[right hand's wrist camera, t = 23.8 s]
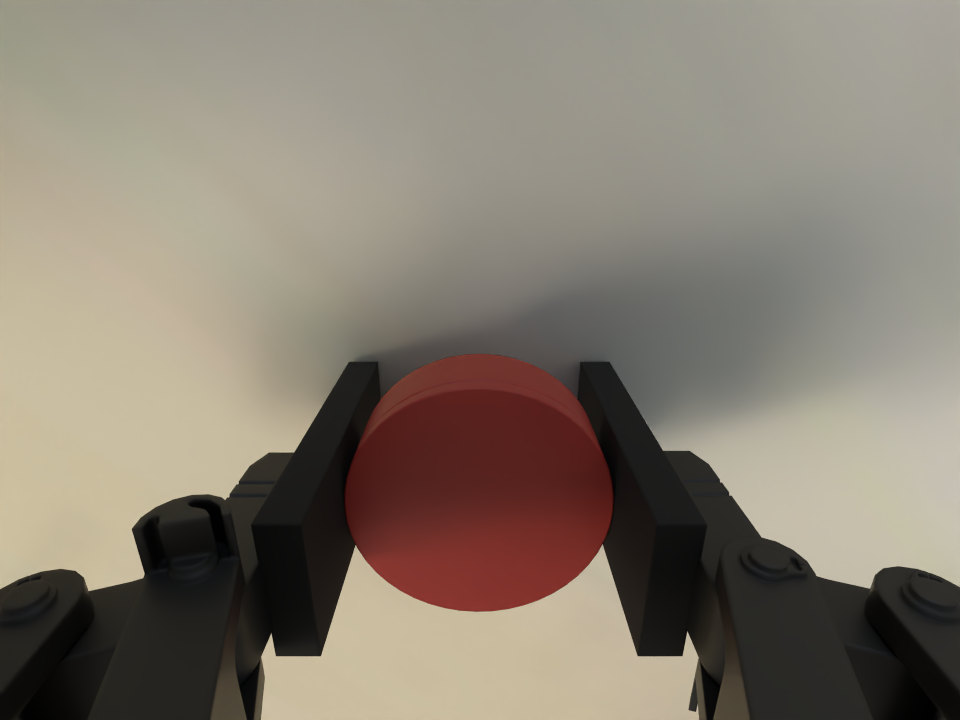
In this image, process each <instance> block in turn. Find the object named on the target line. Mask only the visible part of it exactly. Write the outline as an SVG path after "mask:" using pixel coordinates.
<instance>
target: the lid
mask: <svg viewBox="0 0 960 720" xmlns="http://www.w3.org/2000/svg"><path fill="white" fill-rule="evenodd" d="M613 504H614V493H613V482H612V479H611V475H610V471H609V467H608V465H607V462H606V460H605V457H604V455H603V452H602V450H601V447H600V445H599V442H598V440H597V437H596V435H595V432H594V430H593V427H592V425H591V423H590V420H589V418H588V416H587V414H586V412H585V410H584V409H583V407H582V406H581V404H580V402H579V401H578V400H577V399H576V397H575V396H574V395H573V394H572V393H571V391H570V390H569V389H568V388H566V387H565V386H564V385H563V384H562V383H561V382H560V381H559V380H557V379H556V378H554V377H553V376H551V375H550V374H548V373H547V372H545V371H544V370H542V369H539V368H537V367H535V366H533V365H531V364H529V363H526V362H523V361H520V360H517V359H514V358H509V357H504V356H500V355H489V354H468V355H460V356H454V357H448V358H445V359H441V360H438V361H435V362H432V363H430V364H427V365H425V366H423V367H420V368H418V369H417V370H415V371H413V372H412V373H410V374H408V375H407V376H405V377H404V378H402V379H401V380H400V381H399V382H397V383H396V384H395V385H394V386H393V387H392V388H391V389H390V390H389V391H388V392H387V393H386V394H385V395H384V396H383V397H382V399H381V400H380V401H379V403H378V404H377V406H376V407H375V408H374V410H373V412H372V414H371V416H370V418H369V420H368V422H367V425H366V427H365V430H364V432H363V435H362V437H361V440H360V442H359V445H358V447H357V450H356V452H355V455H354V457H353V460H352V462H351V465H350V469H349V472H348V475H347V478H346V485H345V491H344V507H345V513H346V519H347V523H348V527H349V530H350V533H351V536H352V538H353V540H354V542H355V544H356V546H357V548H358V550H359V551H360V553H361V554H362V556H363V557H364V558H365V560H366V561H367V562H368V564H369V565H370V566H371V567H372V568H373V569H374V570H375V571H376V572H377V573H378V574H379V575H380V576H381V577H382V578H384V579H385V580H386V581H387V582H388V583H390V584H391V585H393V586H394V587H396V588H397V589H399V590H400V591H402V592H404V593H406V594H408V595H410V596H412V597H413V598H416V599H418V600H421V601H423V602H426V603H429V604H432V605H436V606H439V607H443V608H448V609H454V610H460V611H475V612H480V611H497V610H504V609H510V608H514V607H519V606H523V605H526V604H529V603H532V602H534V601H537V600H540V599H542V598H544V597H546V596H548V595H550V594H552V593H554V592H556V591H557V590H559V589H561V588H562V587H564V586H565V585H567V584H568V583H569V582H571V581H572V580H573V579H574V578H576V577H577V576H578V575H579V574H580V573H581V572H582V571H583V570H584V569H585V568H586V567H587V566H588V565H589V564H590V562H591V561H592V560H593V558H594V557H595V556H596V554H597V553H598V551H599V549H600V547H601V546H602V544H603V542H604V540H605V538H606V535H607V532H608V530H609V527H610V523H611V519H612V514H613Z"/></svg>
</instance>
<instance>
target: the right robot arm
mask: <svg viewBox="0 0 960 720" xmlns="http://www.w3.org/2000/svg"><path fill="white" fill-rule="evenodd" d="M380 400H381V397H380V384H379V371H378V362H349V363H348V365H347V366H346V368H345V370H344V371H343V373H342V375H341V376H340V378H339V379H338V381H337V383H336V384H335V386H334V388H333V389H332V391H331V393H330V394H329V396H328V398H327V399H326V401H325V403H324V404H323V406H322V408H321V409H320V411H319V413H318V414H317V416H316V418H315V419H314V421H313V423H312V424H311V426H310V428H309V429H308V431H307V432H306V434H305V436H304V437H303V439H302V441H301V442H300V444H299V446H298V447H297V449H296V451H295V452H294V453H268V454H267V455H265V456H264V457H262V458H261V459H259V460H258V461H256V462H255V463H254V464H252V465H251V466H250V467H249V468H248V469H247V471H246V472H245V474H244V475H243V476H242V478H241V479H240V481H239V485H236V486H235V488H234V489H233V490H232V492H231V493H230V497H229V498H227V499H226V500H224V499H223V498H222V497H217V496H213V495H209V494H207V495H190V496H186V497H182V498H178V499H174V500H171V501H169V502H167V503H164V504H162V505H160V506H158V507H155V508H154V509H153V510H151V511H150V512H148V513H147V514H146V515H144V516H143V517H141V518H140V520H139V521H138V522H137V523H136V525H135V526H134V527H133V528H132V531H133V535H134V538H135V542H136V545H137V548H138V552H139V555H140V559H141V562H142V566H143V569H144V572H145V575H144V578H143V579H139V580H136V581H132V582H128V583H124V584H119V585H115V586H111V587H106V588H102V589H97V590H93V591H88V589H87V586H86V583H85V580H84V577H82V576H81V575H80V574H78V573H77V572H76V571H72V570H64V569H57V570H50V571H43V572H39V573H36V574H33V575H30V576H27V577H24V578H22V579H19V580H17V581H15V582H13V583H11V584H9V585H8V586H6V587H4V588H2V589H0V720H261V711H262V701H263V690H264V680H265V676H264V670H263V664H262V659H261V656H262V653H263V651H264V649H265V646H266V644H267V642H268V639H269V637H270V635H271V632H272V638H273V643H274V648H275V653H276V656H321V654H322V651H323V647H324V644H325V641H326V638H327V634H328V631H329V628H330V625H331V622H332V618H333V615H334V612H335V609H336V606H337V602H338V599H339V596H340V593H341V590H342V586H343V583H344V580H345V577H346V574H347V570H348V567H349V564H350V561H351V558H352V554H353V551H354V548H355V545H356V544H355V542H354V540H353V538H352V536H351V533H350V530H349V527H348V523H347V519H346V513H345V507H344V491H345V485H346V478H347V475H348V472H349V469H350V465H351V462H352V460H353V457H354V455H355V452H356V450H357V447H358V445H359V442H360V440H361V437H362V435H363V432H364V430H365V427H366V425H367V422H368V420H369V418H370V416H371V414H372V412H373V410H374V408H375V407H376V406H377V404H378V403H379V401H380ZM578 401H579V402H580V404H581V406H582V407H583V409H584V410H585V412H586V414H587V416H588V418H589V420H590V423H591V425H592V427H593V430H594V432H595V435H596V437H597V440H598V442H599V445H600V447H601V450H602V452H603V455H604V457H605V460H606V462H607V465H608V467H609V471H610V475H611V479H612V482H613V493H614V504H613V514H612V519H611V523H610V527H609V530H608V532H607V535H606V538H605V540H604V542H603V546H604V550H605V553H606V556H607V559H608V562H609V566H610V569H611V572H612V575H613V578H614V582H615V585H616V588H617V591H618V594H619V598H620V601H621V604H622V607H623V610H624V614H625V617H626V620H627V623H628V626H629V630H630V633H631V636H632V639H633V642H634V646H635V649H636V652H637V655H638V656H683V651H684V645H685V640H686V635H687V631H688V633H689V636H690V638H691V640H692V643H693V645H694V647H695V649H696V652H697V654H698V656H699V659H698V664H697V669H696V674H695V678H694V683H693V688H692V693H691V698H690V704H689V710H691V711H695V712H696V708H697V704H698V710H699V720H960V587H958V586H956V585H955V584H953V583H951V582H949V581H947V580H945V579H943V578H941V577H939V576H936V575H934V574H931V573H928V572H925V571H922V570H919V569H913V568H906V567H899V566H898V567H890V568H883V569H882V570H881V571H880V572H878V573H877V574H876V575H875V577H874V580H873V583H872V586H871V588H870V589H868V588H864V587H859V586H855V585H850V584H846V583H841V582H837V581H832V580H828V579H824V578H821V577H817V576H816V574H815V572H814V571H813V570H812V568H811V567H810V565H809V564H808V562H807V561H806V560H805V559H804V558H802V557H801V556H800V555H799V554H797V553H796V552H795V551H794V550H792V549H790V548H788V547H786V546H784V545H782V544H780V543H778V542H776V541H772V540H768V539H765V538H762V537H761V536H760V535H759V533H758V532H757V531H756V529H755V528H754V526H753V525H752V524H751V522H750V521H749V519H748V518H747V517H746V515H745V514H744V512H743V511H742V510H741V508H740V507H739V506H738V504H737V503H736V501H735V500H734V499H733V497H732V496H729V492H728V490H727V489H726V488H725V486H724V485H723V483H720V479H719V478H718V476H717V475H716V474H715V472H714V471H713V469H712V468H711V467H710V465H709V464H708V463H706V462H705V461H703V460H702V459H700V458H699V457H698V456H696V455H695V454H693V453H692V452H690V451H663V450H662V448H661V447H660V445H659V443H658V442H657V440H656V438H655V437H654V435H653V434H652V432H651V430H650V429H649V427H648V425H647V424H646V422H645V420H644V419H643V417H642V415H641V414H640V412H639V410H638V409H637V407H636V405H635V404H634V402H633V400H632V399H631V397H630V395H629V394H628V392H627V390H626V389H625V387H624V385H623V384H622V382H621V380H620V379H619V377H618V375H617V374H616V372H615V371H614V369H613V367H612V366H611V364H610V362H581V363H580V377H579V390H578Z"/></svg>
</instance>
